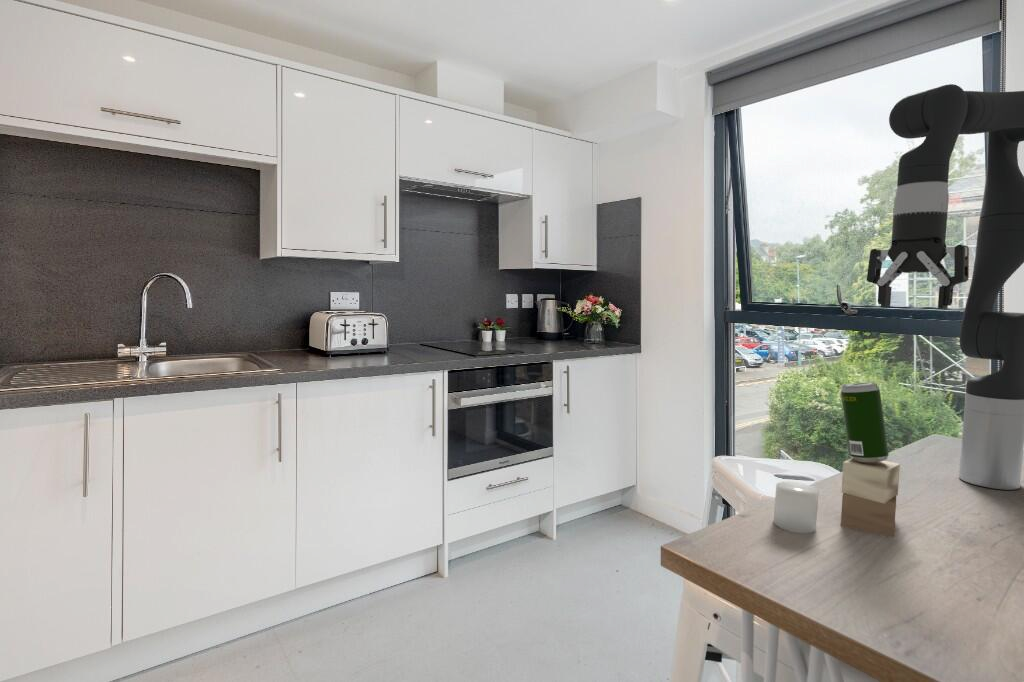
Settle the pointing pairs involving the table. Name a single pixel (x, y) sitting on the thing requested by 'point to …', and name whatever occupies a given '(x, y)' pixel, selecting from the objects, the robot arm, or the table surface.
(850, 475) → the top block
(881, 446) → the guarana soda can
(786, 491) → the white rounded cylinder
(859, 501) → the base block
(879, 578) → the table surface
